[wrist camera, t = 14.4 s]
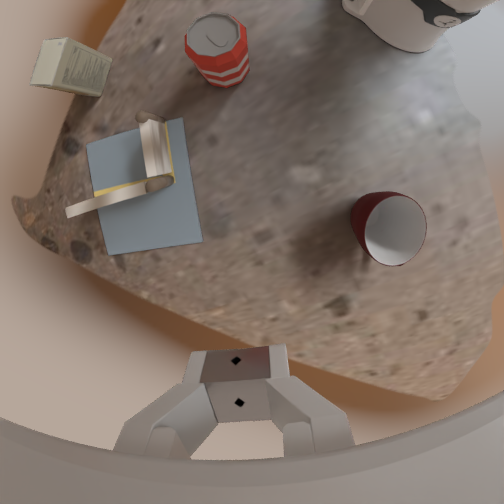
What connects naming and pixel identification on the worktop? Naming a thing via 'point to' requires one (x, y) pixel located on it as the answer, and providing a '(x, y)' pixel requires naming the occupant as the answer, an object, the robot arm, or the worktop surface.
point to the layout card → (147, 205)
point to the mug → (389, 227)
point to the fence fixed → (155, 150)
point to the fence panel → (107, 199)
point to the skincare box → (70, 67)
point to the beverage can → (218, 48)
